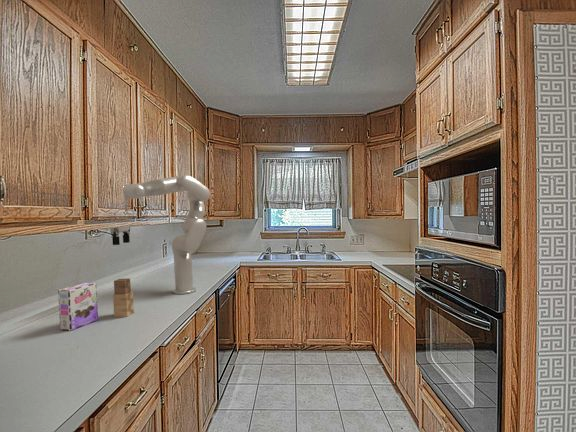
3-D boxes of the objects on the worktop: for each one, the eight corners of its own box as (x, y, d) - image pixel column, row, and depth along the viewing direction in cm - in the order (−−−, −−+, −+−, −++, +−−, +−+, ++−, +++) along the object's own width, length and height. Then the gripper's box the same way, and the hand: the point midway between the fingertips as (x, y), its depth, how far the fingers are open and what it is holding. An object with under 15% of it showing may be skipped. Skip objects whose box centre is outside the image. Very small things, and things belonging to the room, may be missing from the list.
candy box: (70, 331, 146) (68, 290, 146) (59, 330, 148) (57, 289, 147) (98, 320, 159) (96, 282, 159) (88, 319, 161) (86, 282, 161)
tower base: (121, 313, 169) (120, 302, 169) (133, 312, 169) (133, 302, 169) (114, 317, 163) (113, 305, 163) (127, 316, 163) (126, 305, 163)
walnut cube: (120, 291, 168) (119, 278, 168) (130, 291, 168) (130, 278, 168) (114, 294, 163) (113, 281, 163) (125, 294, 163) (124, 280, 163)
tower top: (120, 302, 169) (120, 291, 169) (133, 302, 168) (132, 291, 168) (113, 305, 163) (112, 294, 163) (126, 305, 163) (126, 294, 162)
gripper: (121, 209, 192) (123, 242, 192) (102, 210, 174) (104, 246, 175) (135, 208, 191) (137, 241, 192) (117, 209, 174) (119, 245, 174)
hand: (121, 243), depth 183 cm, fingers open, 9 cm apart
